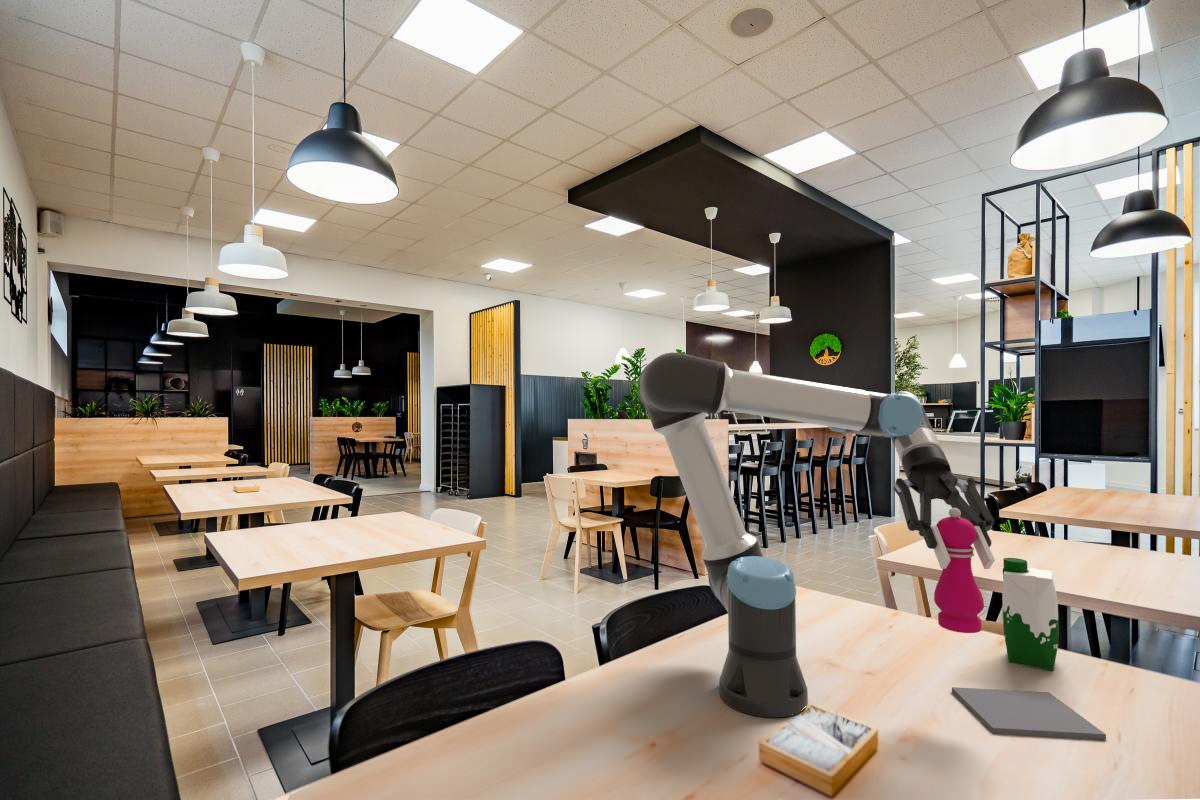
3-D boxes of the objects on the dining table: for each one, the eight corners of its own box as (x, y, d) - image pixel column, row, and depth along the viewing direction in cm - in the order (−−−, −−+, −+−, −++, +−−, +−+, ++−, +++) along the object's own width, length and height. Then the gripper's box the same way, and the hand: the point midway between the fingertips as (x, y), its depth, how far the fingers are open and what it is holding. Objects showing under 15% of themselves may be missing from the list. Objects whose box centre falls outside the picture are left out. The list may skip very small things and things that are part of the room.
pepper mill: (995, 634, 95) (989, 510, 96) (950, 635, 95) (945, 511, 96) (968, 619, 102) (963, 504, 103) (926, 619, 102) (921, 505, 103)
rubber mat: (993, 733, 92) (993, 727, 92) (951, 691, 105) (951, 687, 105) (1106, 739, 89) (1105, 734, 89) (1048, 696, 103) (1048, 691, 103)
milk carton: (1005, 649, 125) (1002, 554, 125) (1059, 659, 119) (1055, 560, 120) (1003, 662, 118) (999, 562, 118) (1060, 674, 112) (1056, 569, 113)
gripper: (968, 469, 113) (1021, 577, 97) (866, 470, 116) (900, 575, 99) (981, 443, 108) (1040, 552, 92) (873, 444, 111) (911, 551, 94)
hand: (967, 564), depth 95 cm, fingers closed on pepper mill, 6 cm apart
